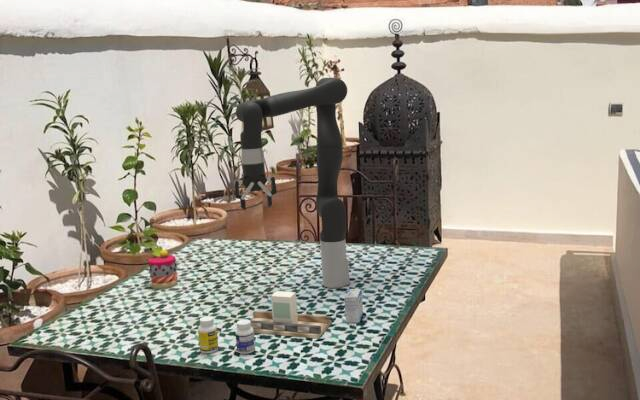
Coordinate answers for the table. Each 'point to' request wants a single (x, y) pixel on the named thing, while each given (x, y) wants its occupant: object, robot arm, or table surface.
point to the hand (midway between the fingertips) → (256, 208)
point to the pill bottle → (244, 337)
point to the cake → (162, 269)
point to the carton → (284, 307)
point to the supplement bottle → (207, 335)
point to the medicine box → (353, 306)
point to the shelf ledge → (290, 325)
